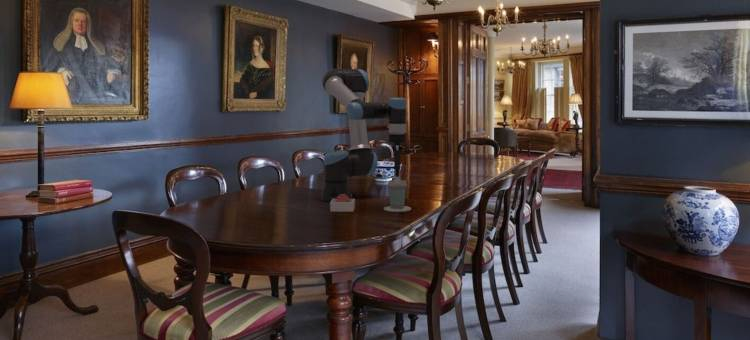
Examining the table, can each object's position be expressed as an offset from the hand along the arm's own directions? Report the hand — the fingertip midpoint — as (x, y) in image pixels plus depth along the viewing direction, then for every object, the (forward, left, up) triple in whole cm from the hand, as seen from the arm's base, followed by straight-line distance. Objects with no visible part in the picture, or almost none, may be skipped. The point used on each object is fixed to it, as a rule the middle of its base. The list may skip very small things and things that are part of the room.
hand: (397, 181), depth 250 cm
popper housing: (-16, -18, -12) cm, 27 cm away
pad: (0, 0, -12) cm, 12 cm away
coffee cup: (0, 0, -12) cm, 12 cm away
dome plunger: (-16, -18, -11) cm, 26 cm away
